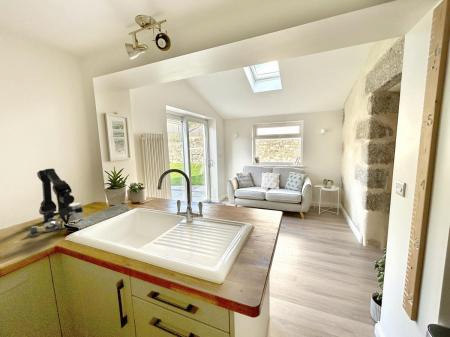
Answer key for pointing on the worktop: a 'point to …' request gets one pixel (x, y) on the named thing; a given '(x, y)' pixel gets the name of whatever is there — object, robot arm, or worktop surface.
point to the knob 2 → (54, 219)
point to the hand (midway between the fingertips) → (67, 224)
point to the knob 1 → (36, 229)
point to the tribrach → (48, 228)
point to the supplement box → (74, 214)
